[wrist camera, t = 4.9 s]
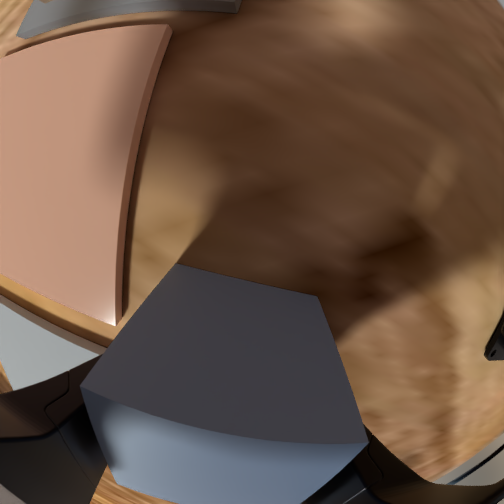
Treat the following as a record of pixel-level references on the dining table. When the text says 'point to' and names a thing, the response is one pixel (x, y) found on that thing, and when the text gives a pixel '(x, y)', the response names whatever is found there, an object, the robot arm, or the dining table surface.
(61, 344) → the grey mat
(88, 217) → the terracotta mat
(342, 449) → the block
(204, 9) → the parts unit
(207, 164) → the dining table surface
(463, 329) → the dining table surface
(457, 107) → the dining table surface
